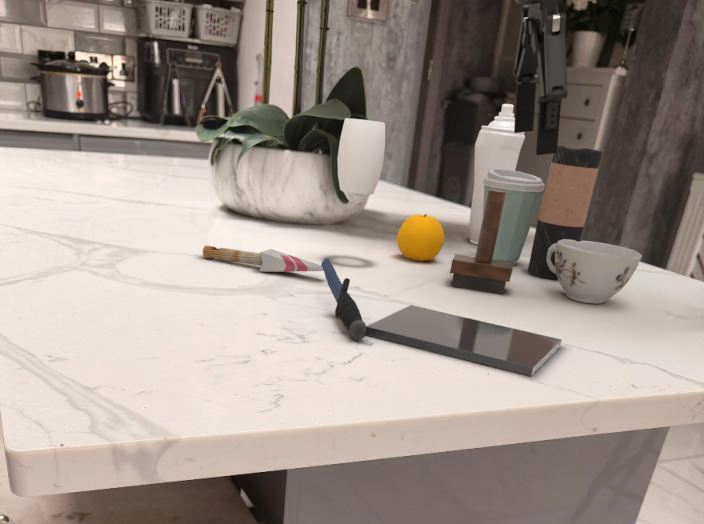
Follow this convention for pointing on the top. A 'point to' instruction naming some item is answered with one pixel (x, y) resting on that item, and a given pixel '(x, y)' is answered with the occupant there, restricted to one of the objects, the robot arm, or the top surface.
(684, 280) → the top surface
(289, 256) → the paintbrush
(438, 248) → the orange
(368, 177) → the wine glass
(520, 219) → the disposable coffee cup
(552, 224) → the travel mug
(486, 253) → the brush
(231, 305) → the top surface
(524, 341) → the slate board
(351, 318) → the knife
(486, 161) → the spray can
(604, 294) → the teacup
